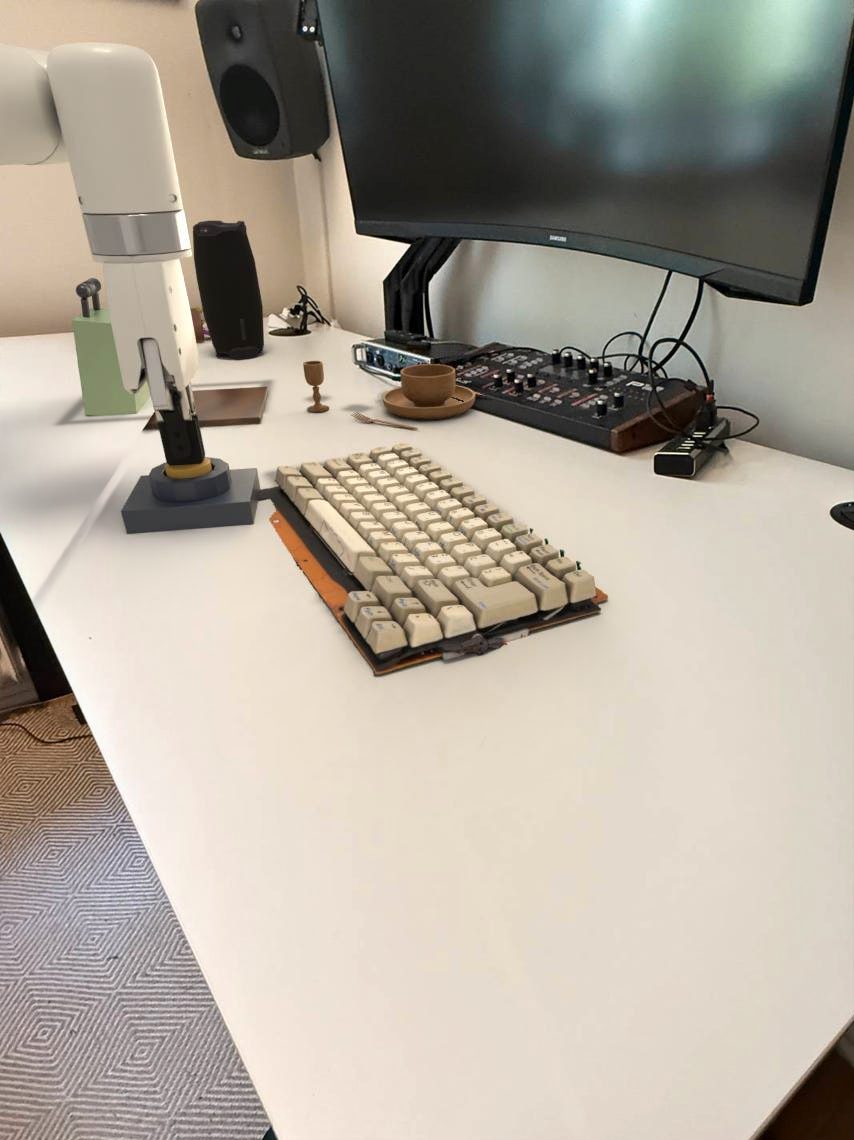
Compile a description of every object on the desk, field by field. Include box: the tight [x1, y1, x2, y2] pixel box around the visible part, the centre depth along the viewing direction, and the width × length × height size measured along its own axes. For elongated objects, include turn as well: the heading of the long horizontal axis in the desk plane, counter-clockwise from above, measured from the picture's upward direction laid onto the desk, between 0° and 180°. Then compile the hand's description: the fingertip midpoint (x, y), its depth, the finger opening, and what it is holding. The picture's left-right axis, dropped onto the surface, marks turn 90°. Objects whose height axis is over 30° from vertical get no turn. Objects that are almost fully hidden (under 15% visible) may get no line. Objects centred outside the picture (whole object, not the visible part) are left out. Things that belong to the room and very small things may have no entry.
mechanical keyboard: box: [258, 442, 609, 675], centre depth 68 cm, size 38×19×3 cm, turn 27°
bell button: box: [164, 456, 212, 479], centre depth 73 cm, size 4×4×2 cm
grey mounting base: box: [120, 456, 261, 535], centre depth 74 cm, size 11×9×4 cm
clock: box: [71, 277, 151, 417], centre depth 99 cm, size 6×10×15 cm, turn 9°
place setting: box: [302, 360, 485, 430], centre depth 103 cm, size 18×20×6 cm
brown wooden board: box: [142, 386, 269, 431], centre depth 104 cm, size 23×15×1 cm, turn 99°
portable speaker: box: [192, 220, 265, 361], centre depth 127 cm, size 9×9×20 cm
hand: (186, 461), depth 73 cm, fingers closed
